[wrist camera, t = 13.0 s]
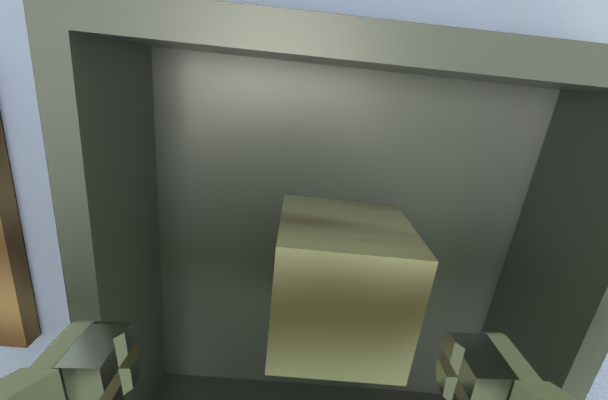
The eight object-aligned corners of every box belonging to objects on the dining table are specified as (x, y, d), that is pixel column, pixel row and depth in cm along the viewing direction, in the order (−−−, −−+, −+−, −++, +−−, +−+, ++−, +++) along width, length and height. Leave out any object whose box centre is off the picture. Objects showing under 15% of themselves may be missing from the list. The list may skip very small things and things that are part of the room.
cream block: (377, 300, 17) (406, 386, 12) (275, 291, 17) (264, 375, 12) (397, 205, 16) (438, 261, 11) (284, 194, 15) (276, 246, 11)
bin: (466, 394, 20) (528, 516, 15) (154, 371, 20) (95, 488, 14) (575, 65, 15) (749, 59, 9) (134, 18, 14) (19, -22, 8)
